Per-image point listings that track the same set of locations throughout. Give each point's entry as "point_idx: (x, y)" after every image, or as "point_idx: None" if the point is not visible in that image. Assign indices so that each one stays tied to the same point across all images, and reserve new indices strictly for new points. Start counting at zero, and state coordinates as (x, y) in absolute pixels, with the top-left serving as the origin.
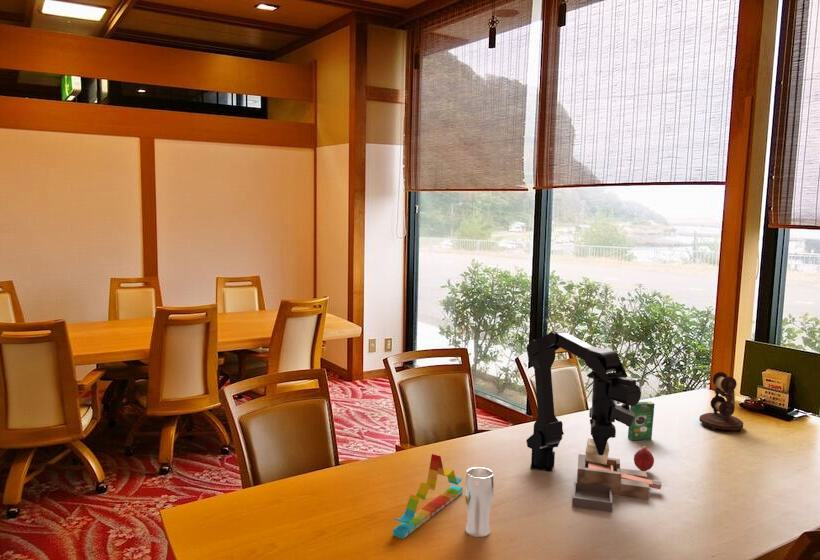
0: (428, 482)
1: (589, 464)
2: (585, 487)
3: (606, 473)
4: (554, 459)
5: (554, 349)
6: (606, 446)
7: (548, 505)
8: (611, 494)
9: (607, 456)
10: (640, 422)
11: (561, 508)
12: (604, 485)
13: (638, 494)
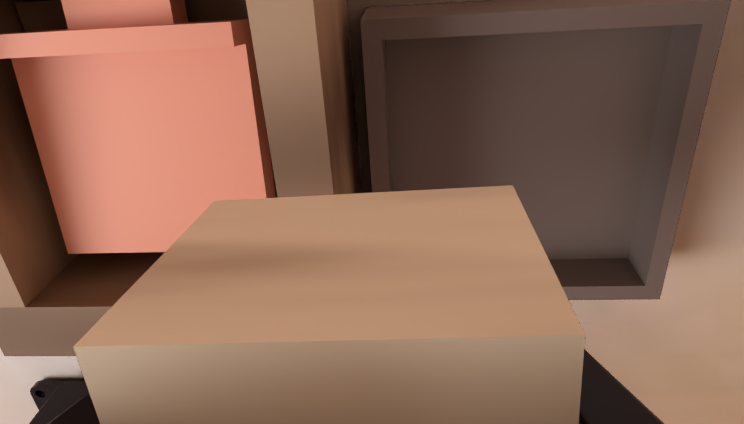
0: None
1: (93, 245)
2: None
3: (327, 108)
4: (56, 412)
5: None
6: (427, 387)
7: (636, 370)
8: (533, 15)
9: (541, 249)
10: None
11: (667, 311)
12: (344, 84)
13: None
